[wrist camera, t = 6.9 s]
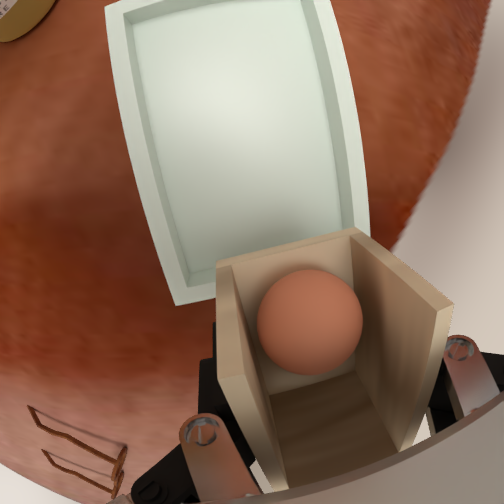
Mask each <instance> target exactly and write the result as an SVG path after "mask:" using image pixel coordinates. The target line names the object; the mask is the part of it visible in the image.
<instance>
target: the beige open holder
mask: <svg viewBox="0 0 504 504" xmlns="http://www.w3.org/2000/svg"><path fill="white" fill-rule="evenodd" d="M302 270H321V271H325V272H328V273H331V274H333V275H335V276H337V277H339V278H340V279H342V280H343V281H344V282H345V283H346V284H347V285H349V286H350V288H351V289H352V290H353V291H354V293H355V295H356V296H357V298H358V300H359V303H360V306H361V309H362V315H363V327H362V334H361V337H360V340H359V343H358V345H357V346H356V348H355V350H354V352H353V353H352V354H351V355H350V357H349V358H348V359H347V360H346V361H345V362H344V363H342V364H341V365H340V366H338V367H337V368H335V369H333V370H331V371H329V372H326V373H322V374H318V375H299V374H295V373H292V372H289V371H287V370H285V369H283V368H281V367H279V366H278V365H277V364H276V363H274V362H273V361H272V360H271V359H270V358H269V356H268V355H267V354H266V353H265V351H264V349H263V347H262V345H261V343H260V341H259V337H258V332H257V315H258V311H259V307H260V304H261V302H262V300H263V298H264V296H265V295H266V293H267V292H268V290H269V289H270V288H271V287H272V286H273V285H274V284H275V283H276V282H277V281H279V280H280V279H281V278H283V277H285V276H287V275H289V274H291V273H294V272H297V271H302ZM453 308H454V303H453V302H451V301H450V300H449V299H448V298H447V297H446V296H444V295H443V294H442V293H441V292H440V291H438V290H437V289H436V288H435V287H434V286H432V285H431V284H430V283H429V282H427V281H426V280H425V279H424V278H423V277H421V276H420V275H419V274H418V273H416V272H415V271H414V270H413V269H411V268H410V267H409V266H407V265H406V264H404V262H402V261H401V260H400V259H398V258H397V257H396V256H394V255H393V254H392V253H391V252H389V251H388V250H387V249H385V248H384V247H383V246H381V245H380V244H378V243H377V242H376V241H374V240H373V239H372V238H370V237H369V236H368V235H366V234H365V233H363V232H362V231H361V230H359V229H358V228H356V227H352V228H348V229H344V230H340V231H336V232H332V233H328V234H324V235H320V236H316V237H312V238H308V239H304V240H299V241H295V242H291V243H287V244H283V245H279V246H275V247H271V248H267V249H263V250H259V251H255V252H251V253H247V254H243V255H239V256H235V257H231V258H227V259H222V260H218V261H216V340H217V379H218V382H219V384H220V386H221V388H222V390H223V393H224V395H225V397H226V399H227V401H228V403H229V406H230V408H231V410H232V412H233V414H234V416H235V418H236V420H237V422H238V424H239V426H240V428H241V430H242V432H243V434H244V436H245V438H246V440H247V442H248V444H249V446H250V448H251V450H252V452H253V454H254V456H255V458H256V459H257V461H258V463H259V465H260V467H261V469H262V471H263V472H264V474H265V476H266V478H267V479H268V481H269V483H270V485H271V487H272V488H273V490H274V492H277V491H282V490H287V489H291V488H295V487H300V486H304V485H308V484H311V483H315V482H319V481H322V480H326V479H329V478H332V477H335V476H339V475H342V474H345V473H348V472H351V471H354V470H356V469H359V468H362V467H365V466H367V465H370V464H372V463H375V462H377V461H380V460H382V459H385V458H387V457H389V456H392V455H394V454H396V453H399V452H401V451H403V450H405V449H407V448H409V447H411V446H412V444H413V442H414V439H415V437H416V434H417V432H418V430H419V427H420V425H421V422H422V420H423V417H424V414H425V412H426V409H427V406H428V403H429V400H430V398H431V395H432V392H433V388H434V385H435V382H436V379H437V376H438V372H439V369H440V365H441V361H442V358H443V354H444V350H445V346H446V342H447V337H448V333H449V328H450V323H451V318H452V313H453Z"/></svg>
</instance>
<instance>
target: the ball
mask: <svg viewBox="0 0 504 504" xmlns="http://www.w3.org/2000/svg"><path fill="white" fill-rule="evenodd" d="M362 327H363V315H362V309H361V306H360V303H359V300H358V298H357V296H356V295H355V293H354V291H353V290H352V289H351V288H350V286H349V285H347V284H346V283H345V282H344V281H343V280H342V279H340V278H339V277H337V276H335V275H333V274H331V273H328V272H325V271H321V270H302V271H297V272H294V273H291V274H289V275H287V276H285V277H283V278H281V279H280V280H279V281H277V282H276V283H275V284H274V285H273V286H272V287H271V288H270V289H269V290H268V292H267V293H266V295H265V296H264V298H263V300H262V302H261V304H260V307H259V311H258V315H257V332H258V337H259V341H260V343H261V345H262V347H263V349H264V351H265V353H266V354H267V355H268V356H269V358H270V359H271V360H272V361H273V362H274V363H276V364H277V365H278V366H279V367H281V368H283V369H285V370H287V371H289V372H292V373H295V374H299V375H318V374H322V373H326V372H329V371H331V370H333V369H335V368H337V367H338V366H340V365H341V364H342V363H344V362H345V361H346V360H347V359H348V358H349V357H350V355H351V354H352V353H353V352H354V350H355V348H356V346H357V345H358V343H359V340H360V337H361V334H362Z"/></svg>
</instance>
